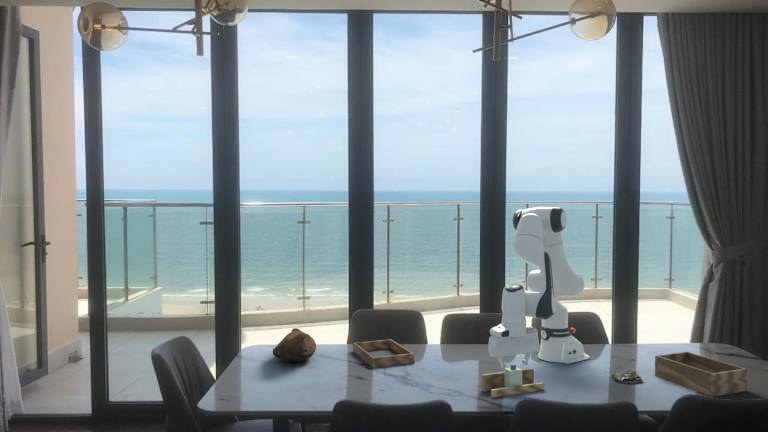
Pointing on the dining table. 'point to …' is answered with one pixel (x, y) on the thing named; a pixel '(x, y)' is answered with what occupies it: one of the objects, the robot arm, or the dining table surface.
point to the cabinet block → (512, 376)
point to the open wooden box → (701, 373)
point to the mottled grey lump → (627, 378)
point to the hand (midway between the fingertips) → (514, 366)
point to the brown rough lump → (295, 346)
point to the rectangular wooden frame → (402, 358)
